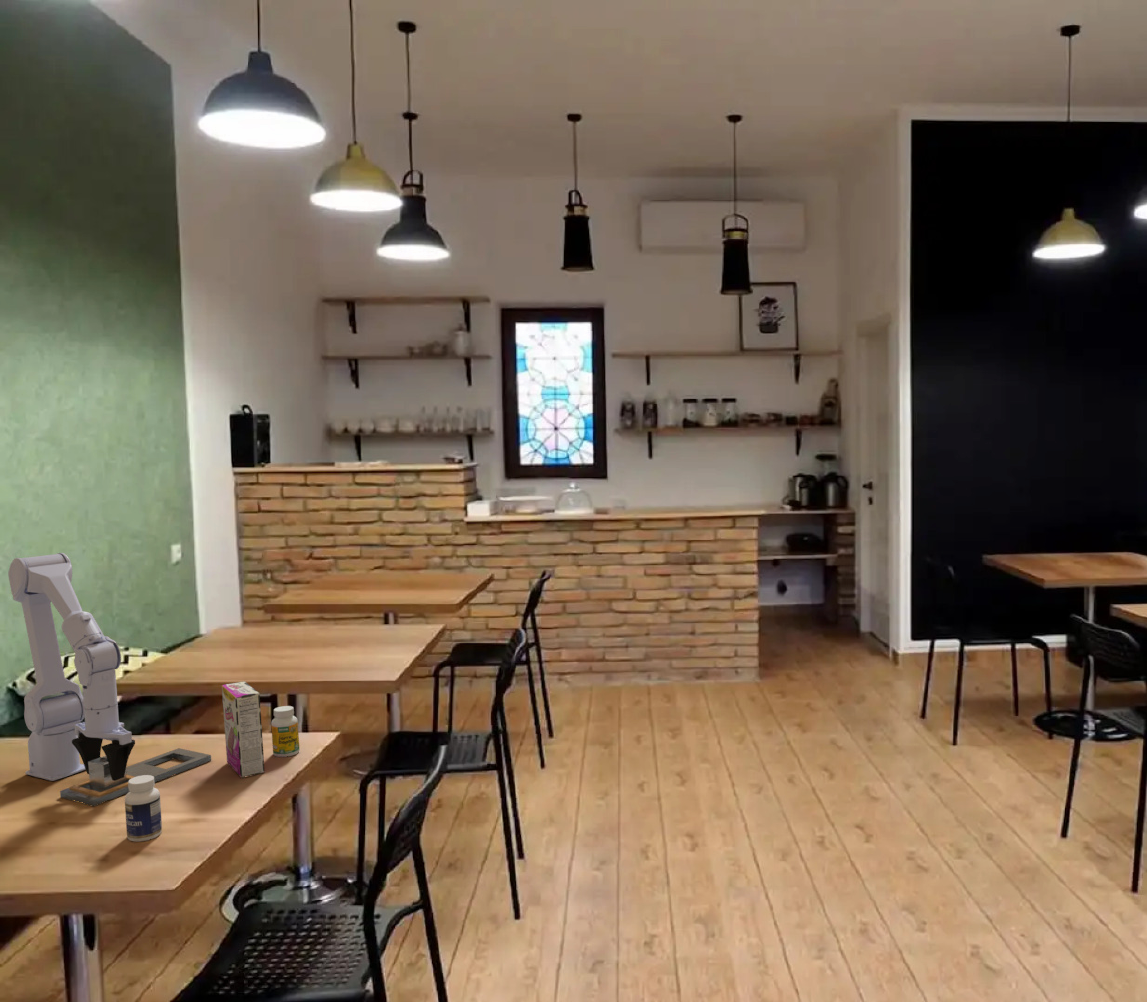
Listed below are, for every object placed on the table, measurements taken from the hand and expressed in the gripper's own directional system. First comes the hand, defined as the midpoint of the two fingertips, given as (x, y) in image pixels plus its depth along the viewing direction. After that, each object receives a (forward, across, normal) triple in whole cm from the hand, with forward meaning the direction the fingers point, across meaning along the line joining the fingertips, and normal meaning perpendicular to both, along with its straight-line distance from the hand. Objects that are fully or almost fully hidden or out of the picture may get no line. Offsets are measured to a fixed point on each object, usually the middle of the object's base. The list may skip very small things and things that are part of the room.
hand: (105, 775), depth 178 cm
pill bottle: (+3, -25, +10) cm, 27 cm away
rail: (+3, 0, -7) cm, 8 cm away
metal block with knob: (+3, 0, 0) cm, 3 cm away
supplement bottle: (+3, -16, -30) cm, 34 cm away
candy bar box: (+3, -15, -20) cm, 25 cm away
